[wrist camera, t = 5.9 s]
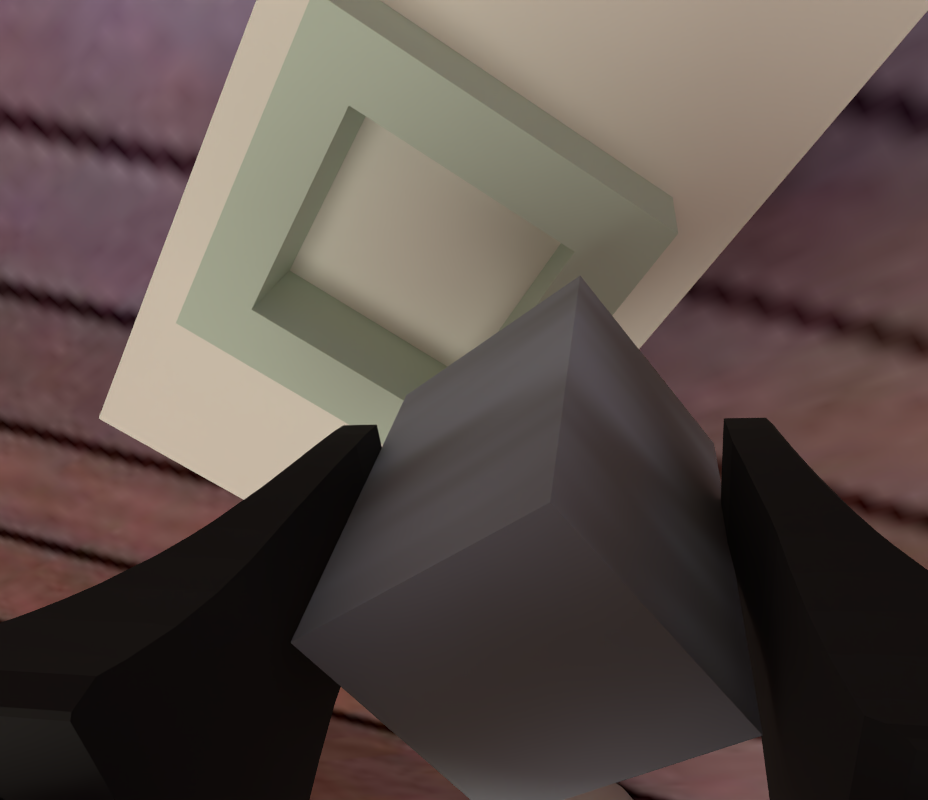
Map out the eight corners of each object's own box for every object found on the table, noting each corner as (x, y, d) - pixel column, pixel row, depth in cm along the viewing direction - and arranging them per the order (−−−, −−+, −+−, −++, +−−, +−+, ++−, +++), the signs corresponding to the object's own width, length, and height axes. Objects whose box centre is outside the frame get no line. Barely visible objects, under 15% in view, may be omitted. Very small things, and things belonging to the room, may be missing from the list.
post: (714, 443, 14) (762, 735, 9) (537, 535, 16) (495, 822, 11) (580, 275, 13) (550, 502, 8) (406, 395, 15) (290, 641, 10)
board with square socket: (958, -50, 16) (1034, -42, 13) (431, 579, 27) (406, 659, 24) (444, -445, 14) (396, -542, 11) (116, 402, 26) (49, 464, 23)
